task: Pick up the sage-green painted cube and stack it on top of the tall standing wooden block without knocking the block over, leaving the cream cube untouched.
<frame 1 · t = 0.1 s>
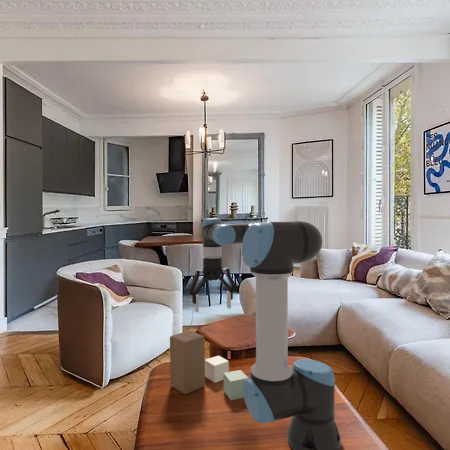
hand: (213, 309, 145), 28 cm above the table, tool pointing down, fingers open, 13 cm apart
cream cube: (216, 377, 146), on the table
sage cube: (235, 393, 133), on the table
wooden block: (187, 387, 139), on the table
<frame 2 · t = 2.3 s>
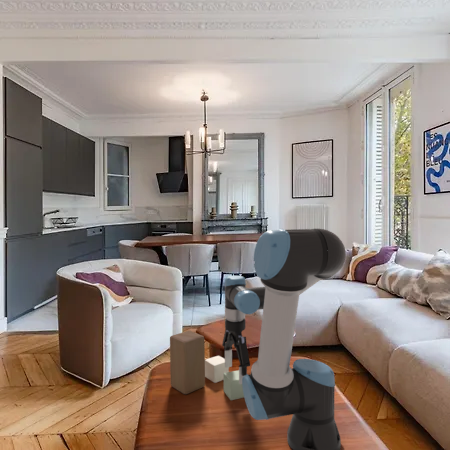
hand: (235, 374, 133), 7 cm above the table, tool pointing down, fingers open, 13 cm apart
nothing on the table moved.
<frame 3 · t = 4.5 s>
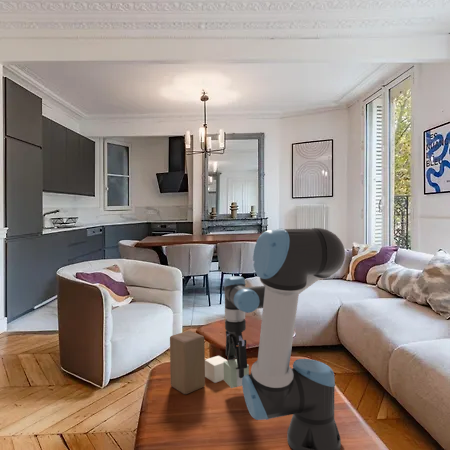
hand: (236, 381, 132), 5 cm above the table, tool pointing down, fingers closed on sage cube, 7 cm apart
sage cube: (236, 382, 132), point 5 cm above the table, touching gripper
everything else where it was.
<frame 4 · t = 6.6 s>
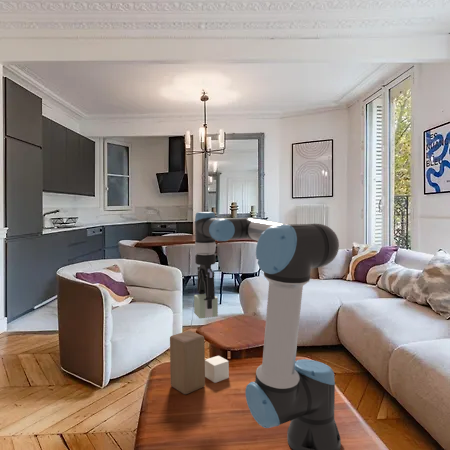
hand: (205, 313, 136), 29 cm above the table, tool pointing down, fingers closed on sage cube, 7 cm apart
sage cube: (205, 314, 136), point 29 cm above the table, touching gripper
everything else where it was.
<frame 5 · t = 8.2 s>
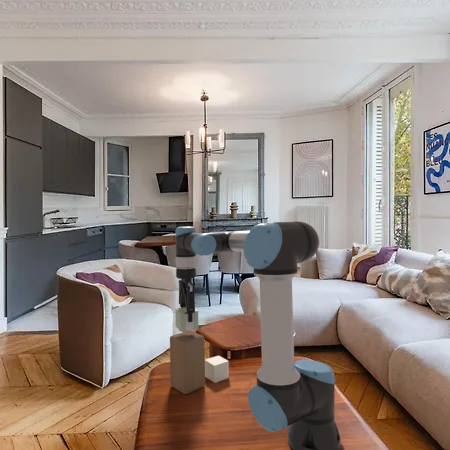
hand: (186, 326, 138), 23 cm above the table, tool pointing down, fingers closed on sage cube, 7 cm apart
sage cube: (186, 327, 138), point 23 cm above the table, touching gripper
everything else where it was.
when the fingers open (21 cm above the table, at t = 9.1 s): sage cube stays where it is, resting on wooden block.
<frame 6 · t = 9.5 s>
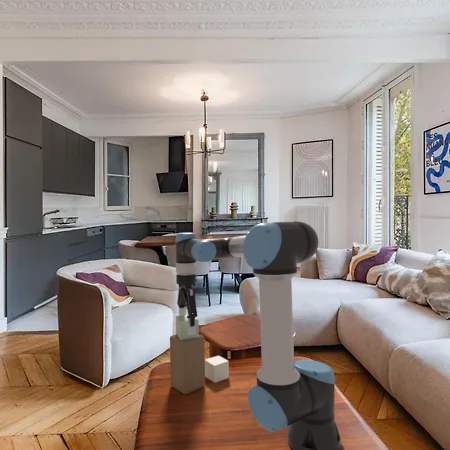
hand: (186, 329, 138), 22 cm above the table, tool pointing down, fingers open, 12 cm apart
sage cube: (187, 335, 138), point 20 cm above the table, touching wooden block
wooden block: (187, 387, 139), on the table, touching sage cube
everything else where it was.
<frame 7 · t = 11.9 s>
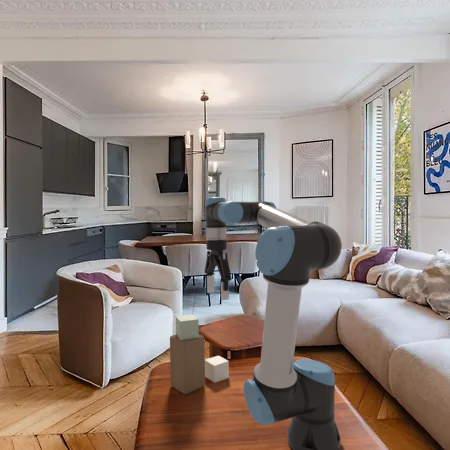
hand: (217, 295, 134), 36 cm above the table, tool pointing down, fingers open, 13 cm apart
nothing on the table moved.
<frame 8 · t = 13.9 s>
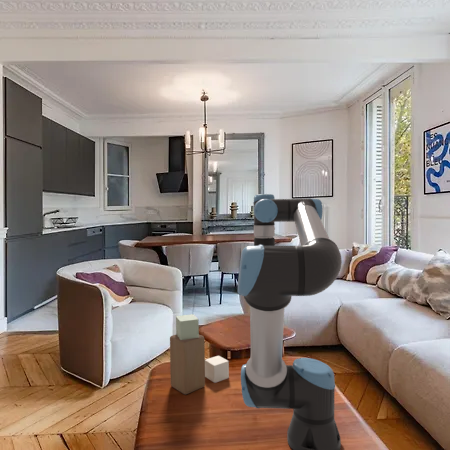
hand: (264, 295, 131), 37 cm above the table, tool pointing down, fingers open, 13 cm apart
nothing on the table moved.
at the end: sage cube inside the target area on the wooden block (0.1 cm from its centre), point 20.2 cm above the wooden block's base; wooden block tilted 0°; the gripper is holding nothing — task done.
